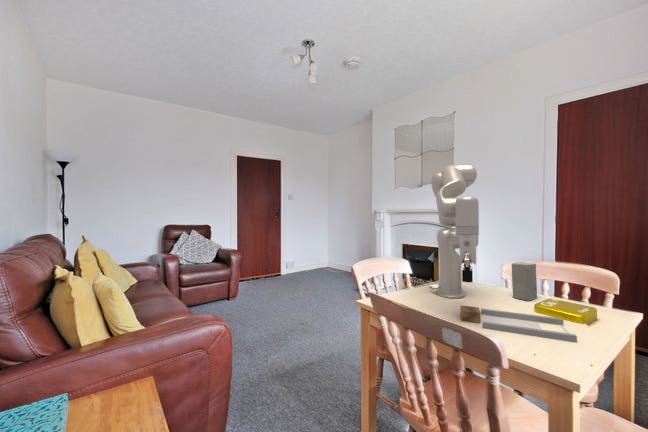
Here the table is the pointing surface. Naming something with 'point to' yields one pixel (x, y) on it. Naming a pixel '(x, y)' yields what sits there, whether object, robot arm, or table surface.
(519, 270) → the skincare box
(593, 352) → the table surface
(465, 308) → the walnut block
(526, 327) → the grey rail tray
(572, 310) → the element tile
